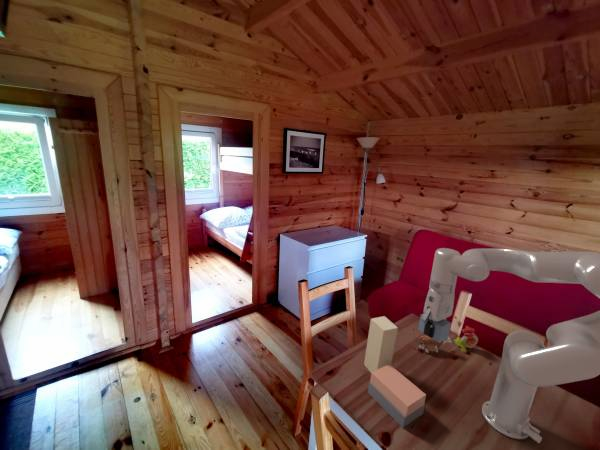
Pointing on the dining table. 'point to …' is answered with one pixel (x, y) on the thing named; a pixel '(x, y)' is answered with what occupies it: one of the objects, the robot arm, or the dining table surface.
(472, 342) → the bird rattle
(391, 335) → the toy refrigerator
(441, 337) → the slate brick
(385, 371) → the pink and grey block
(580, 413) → the dining table surface
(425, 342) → the bull figurine
